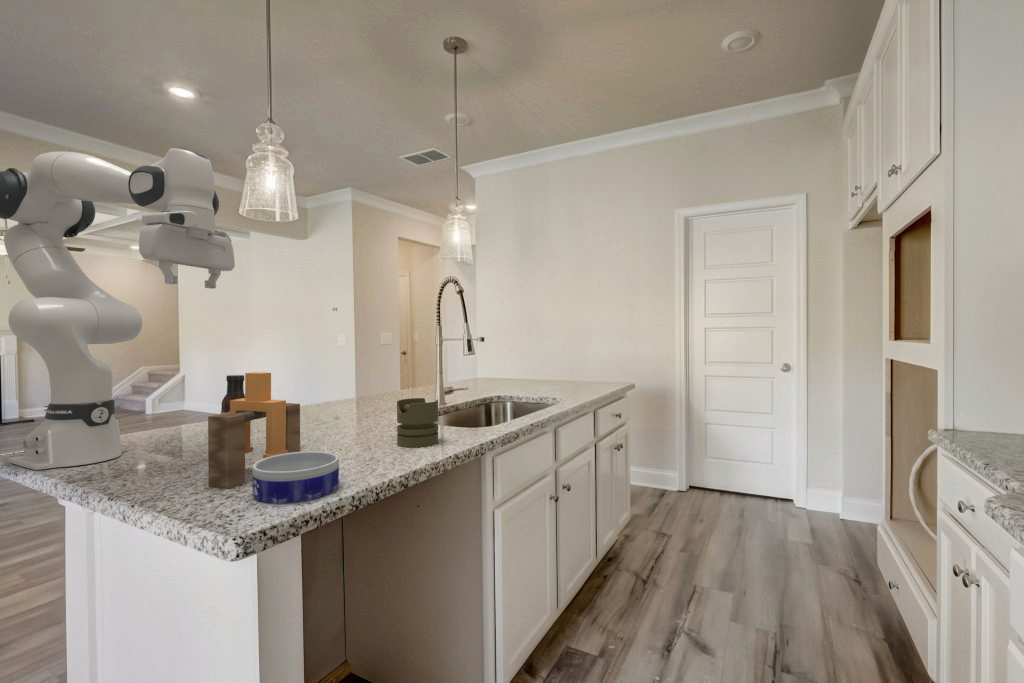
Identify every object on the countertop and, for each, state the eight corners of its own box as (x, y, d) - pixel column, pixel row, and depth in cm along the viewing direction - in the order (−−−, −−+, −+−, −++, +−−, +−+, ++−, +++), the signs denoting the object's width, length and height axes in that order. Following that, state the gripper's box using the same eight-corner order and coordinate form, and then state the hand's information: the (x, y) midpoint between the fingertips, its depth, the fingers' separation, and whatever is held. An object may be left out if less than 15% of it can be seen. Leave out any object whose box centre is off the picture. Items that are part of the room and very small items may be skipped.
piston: (420, 397, 140) (446, 400, 132) (420, 437, 140) (446, 442, 133) (388, 401, 131) (414, 404, 124) (388, 444, 131) (414, 450, 124)
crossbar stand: (208, 486, 93) (208, 416, 93) (282, 461, 113) (282, 402, 113) (228, 488, 92) (228, 417, 92) (300, 462, 111) (299, 403, 111)
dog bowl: (354, 489, 92) (354, 459, 92) (273, 511, 81) (273, 476, 81) (315, 475, 102) (315, 447, 102) (239, 492, 90) (239, 461, 90)
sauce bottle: (235, 454, 119) (234, 376, 119) (214, 453, 120) (213, 375, 120) (254, 448, 125) (253, 374, 125) (234, 447, 127) (233, 374, 126)
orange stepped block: (227, 455, 102) (227, 372, 101) (245, 450, 106) (246, 371, 106) (270, 460, 98) (271, 374, 98) (288, 454, 103) (288, 372, 103)
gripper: (220, 234, 115) (220, 291, 115) (133, 213, 95) (133, 281, 96) (241, 233, 113) (241, 290, 114) (156, 211, 94) (157, 280, 94)
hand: (191, 286), depth 104 cm, fingers open, 8 cm apart
